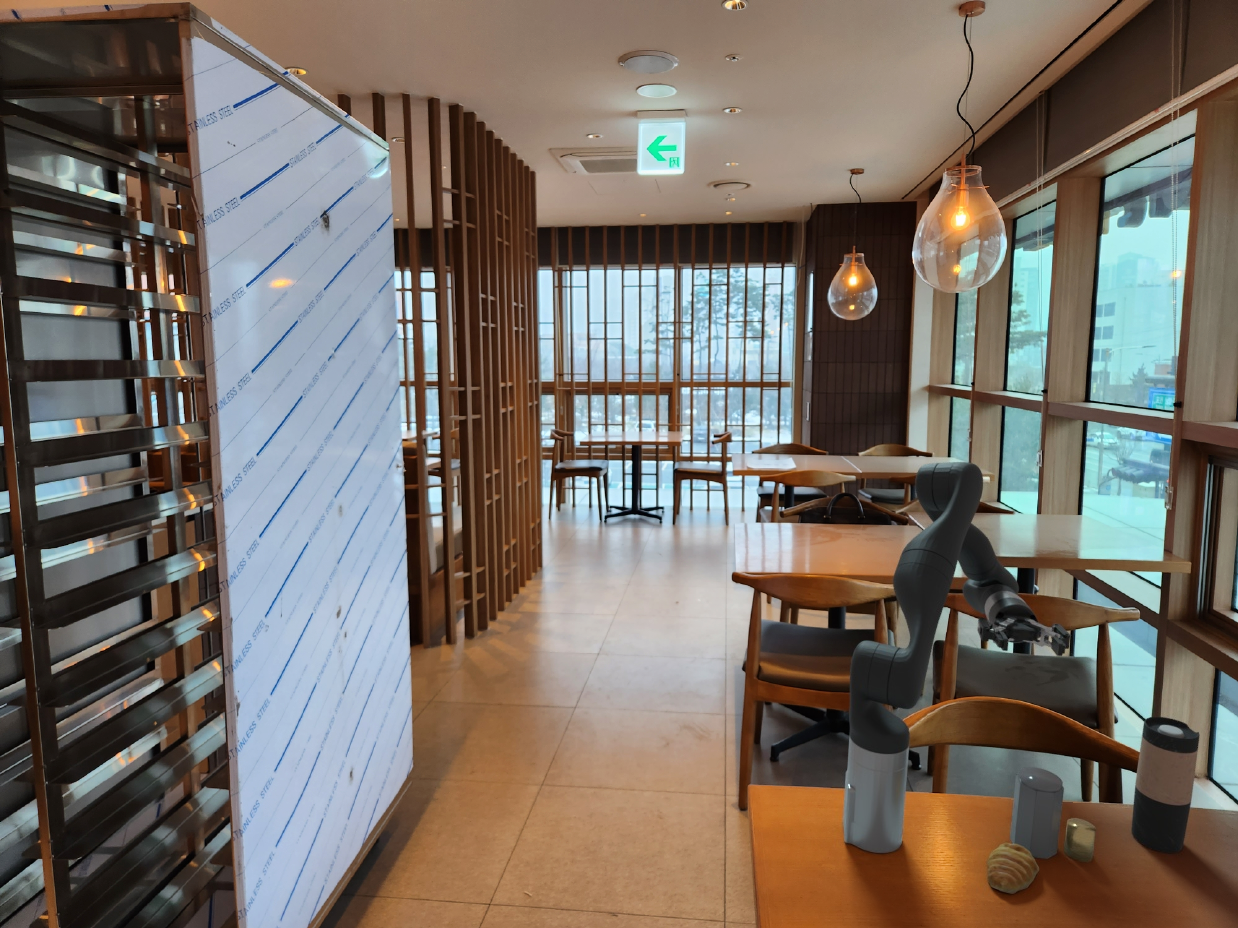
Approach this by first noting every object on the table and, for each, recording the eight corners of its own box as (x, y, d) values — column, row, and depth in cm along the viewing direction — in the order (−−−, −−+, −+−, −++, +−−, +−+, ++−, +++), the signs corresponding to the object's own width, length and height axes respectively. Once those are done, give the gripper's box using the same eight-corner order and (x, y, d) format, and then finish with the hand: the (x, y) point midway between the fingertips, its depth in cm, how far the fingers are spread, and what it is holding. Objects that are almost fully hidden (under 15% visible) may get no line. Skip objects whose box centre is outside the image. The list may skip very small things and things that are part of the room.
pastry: (1024, 905, 117) (1026, 881, 116) (975, 884, 121) (977, 862, 121) (1040, 872, 124) (1042, 850, 123) (993, 854, 128) (995, 833, 128)
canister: (1017, 854, 128) (1023, 785, 126) (1007, 830, 134) (1013, 764, 132) (1060, 860, 126) (1068, 791, 125) (1048, 836, 133) (1055, 769, 131)
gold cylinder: (1068, 859, 127) (1071, 831, 126) (1060, 844, 131) (1063, 816, 130) (1096, 863, 126) (1099, 834, 125) (1087, 847, 130) (1090, 819, 129)
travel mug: (1124, 839, 132) (1138, 727, 129) (1134, 819, 137) (1148, 711, 134) (1180, 860, 127) (1196, 744, 123) (1188, 838, 132) (1204, 726, 129)
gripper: (971, 593, 152) (990, 623, 136) (1052, 599, 149) (1081, 630, 133) (967, 631, 153) (986, 664, 137) (1048, 638, 150) (1077, 673, 134)
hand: (1033, 648), depth 135 cm, fingers open, 8 cm apart
